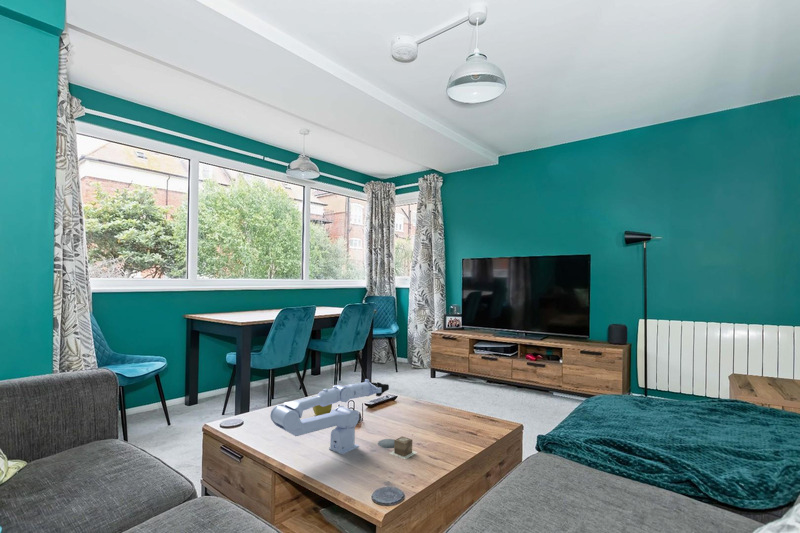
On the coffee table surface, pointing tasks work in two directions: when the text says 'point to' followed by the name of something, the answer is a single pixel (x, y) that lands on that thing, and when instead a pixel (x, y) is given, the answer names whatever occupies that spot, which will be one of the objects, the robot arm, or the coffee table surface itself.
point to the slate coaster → (386, 443)
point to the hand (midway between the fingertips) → (382, 386)
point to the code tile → (403, 456)
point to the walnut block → (403, 446)
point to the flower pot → (322, 409)
